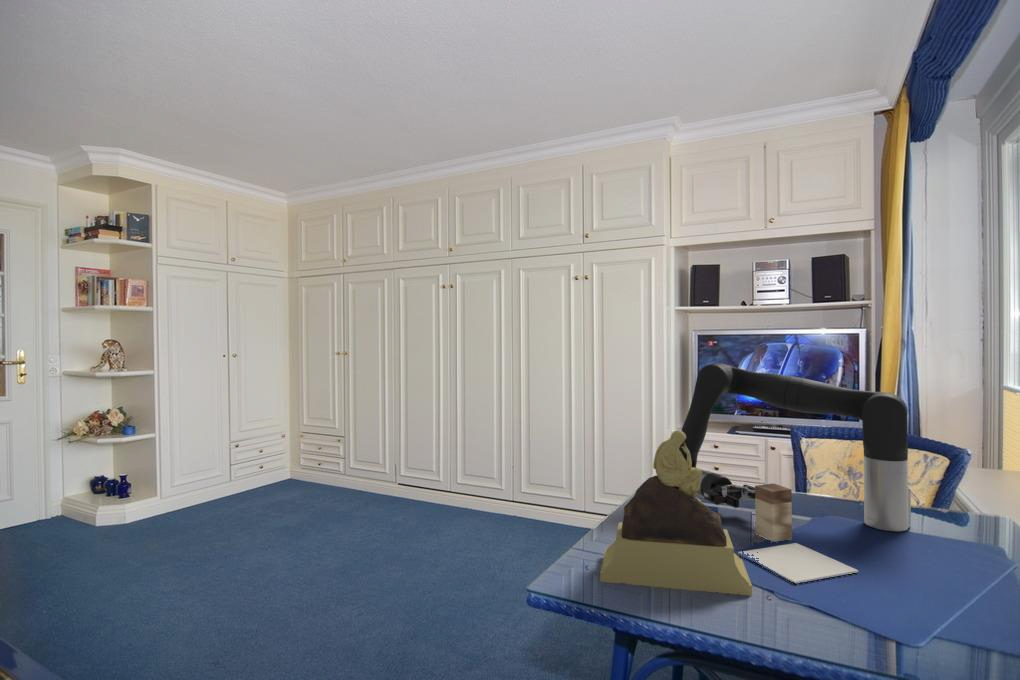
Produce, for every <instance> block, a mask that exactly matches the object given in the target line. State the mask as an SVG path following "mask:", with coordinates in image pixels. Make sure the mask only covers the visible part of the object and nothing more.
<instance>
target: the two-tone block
mask: <svg viewBox="0 0 1020 680" xmlns="http://www.w3.org/2000/svg"><path fill="white" fill-rule="evenodd" d="M754 487H755V501H754V510H755V511H754V514H755V515H754V516H755V518H754V519H755V520H754V521H755V523H754V524H755V528H754V529H755V530H754V532H755V533H756V534H758V535H761V536H763V537H765V538H767V539H769V540H772V541H778V540H787V539H792V540H793V524H792V523H793V520H792V519H793V518H792V517H793V515H792V514H793V512H792V511H793V509H792V507H793V506H792V503H793V502H792V498H793V497H792V495H793V494H792V488H789V487H786V486H783V485H780V484H776V483H768V484H758V485H757V484H756V485H754Z"/></svg>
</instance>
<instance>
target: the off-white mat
mask: <svg viewBox="0 0 1020 680" xmlns="http://www.w3.org/2000/svg"><path fill="white" fill-rule="evenodd" d="M742 551H743V550H742ZM742 551H738V554H739V553H741V554H742ZM743 552H744V554H746V555H747V553H748V554H749V555H750V556H748V557H750V558H752V557H753V558H755V560H759V561H758V562H759V563H760V564H763V565H764V566H766V567H768V568H769V569H771V570H773V571H775V572H776V573H778V574H779V575H781V576H783V577H785V578H786V579H788V580H790V581H791V582H794V583H800V582H807V581H812V580H817V579H823V578H829V577H834V576H839V575H845V574H852V573H857V572H858V573H859V570H858V569H856V568H854V567H852V566H849V565H847V564H845V563H843V562H841V561H838V560H836V559H833V558H831V557H829V556H827V555H825V554H822V553H820V552H818V551H816V550H813V549H811V548H809V547H807V546H804V545H802V544H800V543H797V542H794V543H787V544H781V545H775V546H769V547H763V548H756V549H749V550H744V551H743ZM757 552H758V553H757ZM752 554H753V555H754V556H751V555H752ZM756 558H759V559H756ZM756 562H757V561H756ZM858 573H857V574H858ZM852 575H853V574H852ZM791 582H790V583H791Z"/></svg>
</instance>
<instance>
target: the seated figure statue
mask: <svg viewBox="0 0 1020 680" xmlns="http://www.w3.org/2000/svg"><path fill="white" fill-rule="evenodd" d="M685 439H686V435H685V433H684V432H682V431H681V429H677V430H674V431H673V432H672V433H671V434H670V437H669V438H668V439H666V440H665V441H662V442H661V443H660V444H659V446H658V447H657V449H656V451H655V455H654V459H653V467H652V468H653V469H654V470H655V473H656V475H654V476H651V477H648V478H647V479H646V480H645V481H643V483H642V484H641V485H640V486H639V487H638V488H637V489H636V490H635V492H634V495H633V496H632V497H631V499H629V501H628V502H627V504H625V506H624V507H623V519H622V521H621V522H620V521H619V522H618V525H617V531H616V536H615V540H614V542H613V543H611V544H610V545H609V546H608V547H606V548H605V551H604V554H603V559H602V562H601V566H600V567H601V568H600V571H599V573H600V575H599V578H600V579H599V580H600V582H601V583H609V584H610V583H611V584H620V583H626V584H625V585H631V584H632V586H633V585H634V586H641V585H642V586H641V587H643V586H644V587H651V588H652V587H654V588H664V589H675V590H683V591H685V590H686V591H695V592H705V591H706V592H707V593H716V592H718V594H727V593H729V595H737V594H740V596H749V597H752V596H753V585H752V582H751V580H750V579H751V578H750V577H749V574H748V571H747V568H746V565H745V562H744V561H743V558H740V557H739V555H738V554H736V553H735V552H734V551H735V548H734V546H733V543H732V540H731V537H730V535H729V531H728V529H726V528H725V529H724V527H723V525H722V518H721V516H720V513H717V512H716V511H714V510H712V509H711V508H710V507H708V506H707V505H706V504H704V503H703V500H701V499H699V498H698V497H697V495H698V494H697V492H698V490H699V484H700V478H701V474H702V471H701V468H699V467H696V468H692V467H691V466H692V461H691V456H690V452H689V450H688V448H687V447H686V444H685V443H684V446H683V447H681V448H683V450H684V451H685V452H686V453H687V461H686V460H685V459H684V457H683V455H682V453H681V451H680V450H679V447H680V445H681V444H682V443H683V442H684V441H685ZM721 592H722V593H721Z"/></svg>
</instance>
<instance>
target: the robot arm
mask: <svg viewBox="0 0 1020 680" xmlns="http://www.w3.org/2000/svg"><path fill="white" fill-rule="evenodd" d="M722 394H729V395H730V394H731V395H736V396H744V397H749V398H753V399H756V400H758V401H760V402H763V403H765V404H768V405H770V406H774V407H776V408H780V409H784V410H789V411H792V412H796V413H797V412H799V413H805V414H814V415H815V414H816V415H831V416H832V415H833V416H834V415H835V416H842V417H847V418H848V417H849V418H851V419H856V420H859V421H861V422H862V424H861V425H862V446H863V447H862V449H863V512H864V513H863V519H864V521H863V523H864V524H865V525H866V526H868V527H871V528H874V529H877V530H880V531H888V532H904V531H908V529H909V528H911V527H912V515H911V513H912V510H911V509H912V503H911V502H912V501H911V500H912V499H911V496H912V495H911V492H912V491H911V488H909V465H908V464H909V463H908V462H909V460H908V459H909V458H908V457H909V455H908V454H909V446H908V412H909V411H908V407H907V404H906V403H905V401H904V400H903V399H902V398H901V397H900V396H898V395H896V394H894V393H892V392H887V391H886V392H885V391H884V392H882V391H870V390H869V391H868V390H861V389H860V390H858V389H853V388H852V389H850V388H845V387H841V386H837V385H833V384H830V383H825V382H823V381H817V380H812V379H808V378H802V377H798V376H792V375H785V374H780V373H779V374H778V373H767V372H756V371H755V372H754V371H751V370H746V369H742V368H739V367H735V366H732V365H729V364H725V363H722V362H715V363H709V364H706V365H704V366H703V367H701V369H699V371H698V373H697V377H696V381H695V385H694V391H693V396H692V400H691V403H690V406H689V409H688V412H687V415H686V418H685V419H684V423H683V424H682V427H681V429H680V430H681V431H682V432H684V433H685V435H686V439H685V441H684V442H683V443H682V444H681V445H680V447H679V450H680V451H681V453H682V455H683V457H684V459H685V460H686V461H687V453H686V452H685V451H684V450H683V448H681V447H683V446H684V443H685V444H686V447H687V448H688V450H689V452H690V456H691V461H692V466H691V467H692V468H697V463H698V455H699V452H700V451H701V448H702V446H703V443H704V440H705V437H706V435H707V431H708V428H709V427H708V426H709V421H710V417H711V414H712V410H713V408H714V407H715V405H716V403H717V401H718V399H719V398H720V396H721V395H722ZM700 469H701V468H700ZM701 471H702V474H701V478H700V484H699V490H698V492H697V494H696V495H698V496H699V497H701V498H704V500H705V501H708V502H710V503H712V504H714V505H716V506H718V505H719V506H720V504H722V505H724V506H726V505H728V506H730V507H732V508H734V509H739V508H740V501H743V502H748V501H754V502H755V486H751V485H748V484H742V486H740V485H737V484H733V483H732V482H731V479H729V477H726V476H724V475H722V474H719V473H716V472H713V471H710V470H705V469H701ZM743 495H744V496H743Z"/></svg>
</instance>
